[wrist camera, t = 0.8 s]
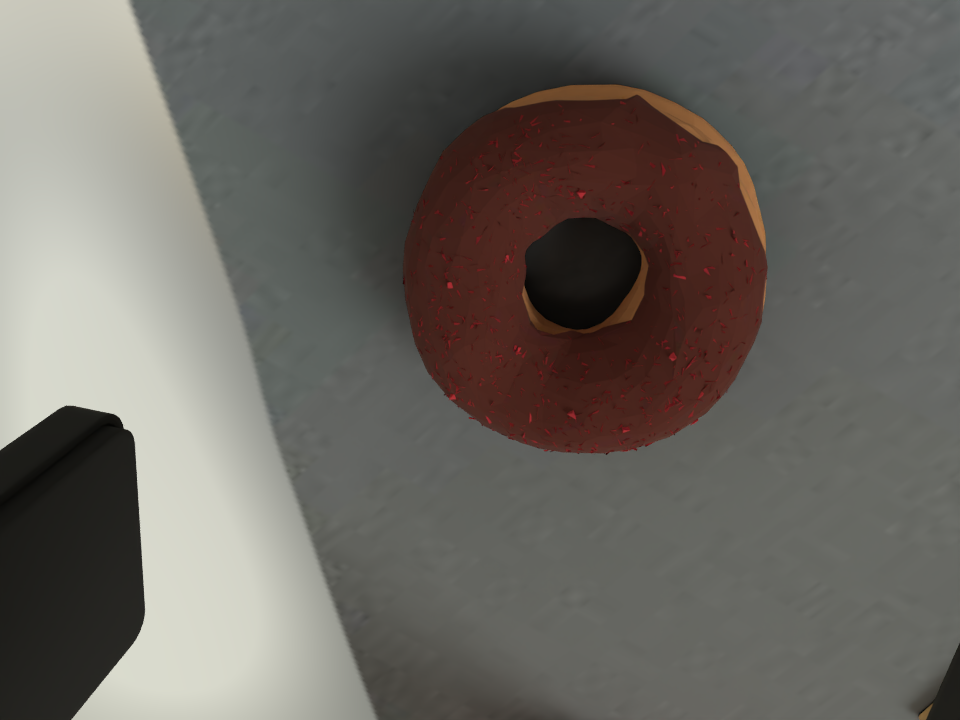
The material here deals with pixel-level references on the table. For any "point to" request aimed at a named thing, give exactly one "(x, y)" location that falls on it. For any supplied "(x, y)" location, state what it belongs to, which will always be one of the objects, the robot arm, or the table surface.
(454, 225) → the donut
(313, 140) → the table surface
